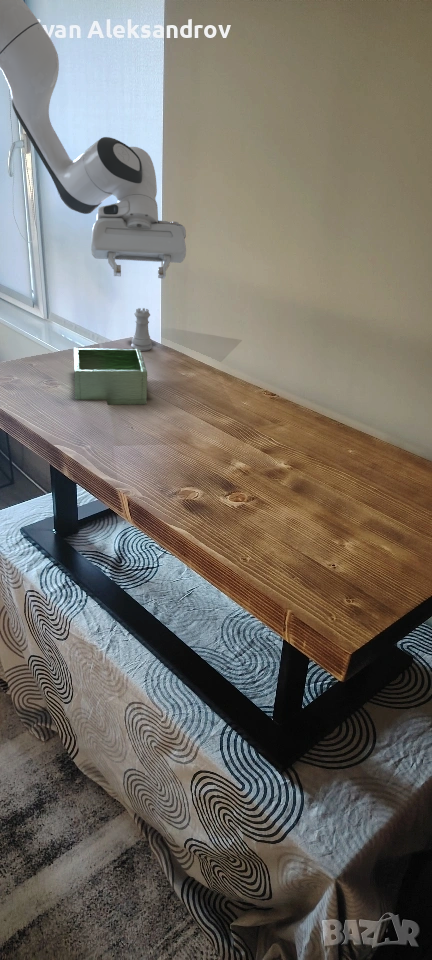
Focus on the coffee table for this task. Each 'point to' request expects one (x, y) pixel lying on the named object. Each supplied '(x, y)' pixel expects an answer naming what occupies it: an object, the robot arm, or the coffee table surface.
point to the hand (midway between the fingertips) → (139, 275)
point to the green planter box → (110, 375)
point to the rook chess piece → (142, 331)
